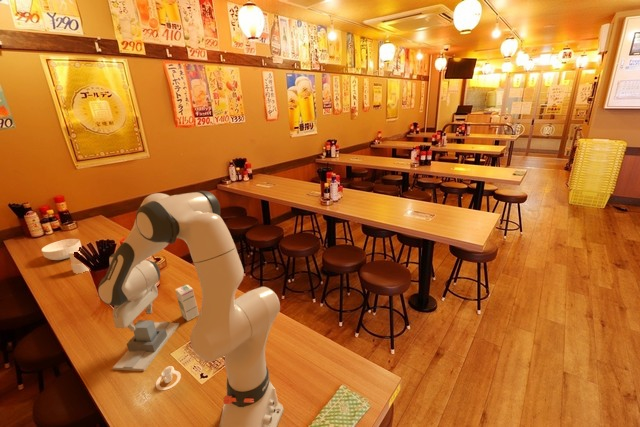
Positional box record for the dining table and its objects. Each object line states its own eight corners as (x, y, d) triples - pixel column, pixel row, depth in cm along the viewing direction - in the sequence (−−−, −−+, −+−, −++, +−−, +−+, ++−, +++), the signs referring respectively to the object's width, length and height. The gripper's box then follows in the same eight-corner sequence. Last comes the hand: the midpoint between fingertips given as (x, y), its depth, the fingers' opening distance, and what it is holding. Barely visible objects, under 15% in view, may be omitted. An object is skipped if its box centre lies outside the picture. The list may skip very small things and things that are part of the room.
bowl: (90, 251, 205) (86, 239, 202) (60, 265, 187) (55, 253, 185) (69, 248, 211) (65, 237, 208) (38, 262, 193) (33, 250, 190)
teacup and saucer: (166, 368, 109) (163, 360, 108) (186, 370, 109) (184, 361, 107) (150, 390, 101) (147, 381, 100) (172, 392, 100) (170, 383, 99)
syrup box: (199, 315, 136) (193, 287, 132) (186, 322, 132) (180, 294, 128) (193, 310, 140) (187, 283, 135) (181, 316, 136) (174, 289, 131)
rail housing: (144, 371, 109) (141, 361, 107) (113, 369, 110) (109, 360, 108) (179, 324, 131) (177, 316, 129) (153, 324, 132) (150, 315, 131)
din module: (152, 346, 118) (146, 327, 114) (136, 345, 118) (130, 327, 115) (158, 338, 121) (153, 320, 118) (143, 338, 122) (137, 320, 119)
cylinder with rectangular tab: (69, 273, 177) (62, 255, 173) (83, 266, 185) (77, 248, 181) (82, 274, 175) (76, 256, 171) (95, 266, 184) (89, 249, 180)
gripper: (120, 308, 101) (131, 341, 106) (156, 275, 120) (164, 304, 125) (103, 308, 102) (114, 340, 107) (142, 275, 121) (150, 304, 126)
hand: (142, 321), depth 116 cm, fingers open, 8 cm apart
